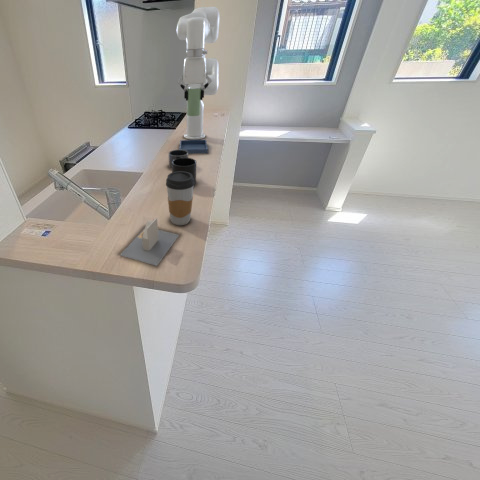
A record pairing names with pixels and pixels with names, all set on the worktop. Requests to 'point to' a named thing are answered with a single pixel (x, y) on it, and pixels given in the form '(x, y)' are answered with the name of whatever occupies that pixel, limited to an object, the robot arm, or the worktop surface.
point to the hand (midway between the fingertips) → (194, 99)
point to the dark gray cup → (177, 155)
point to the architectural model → (150, 244)
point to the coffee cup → (180, 196)
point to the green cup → (193, 101)
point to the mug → (185, 166)
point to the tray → (194, 146)
